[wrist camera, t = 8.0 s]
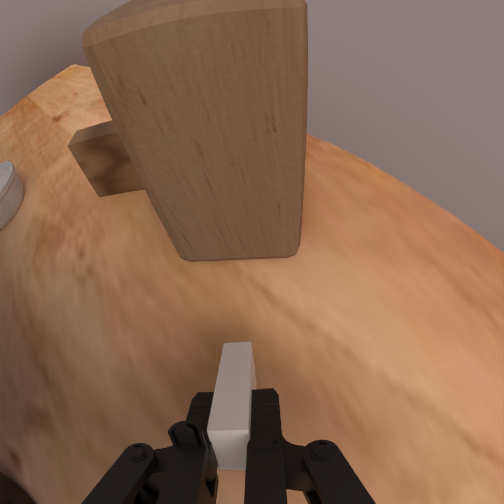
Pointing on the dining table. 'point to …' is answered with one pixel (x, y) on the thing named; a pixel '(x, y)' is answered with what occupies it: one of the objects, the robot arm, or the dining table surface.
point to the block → (211, 117)
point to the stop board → (104, 159)
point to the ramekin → (9, 193)
